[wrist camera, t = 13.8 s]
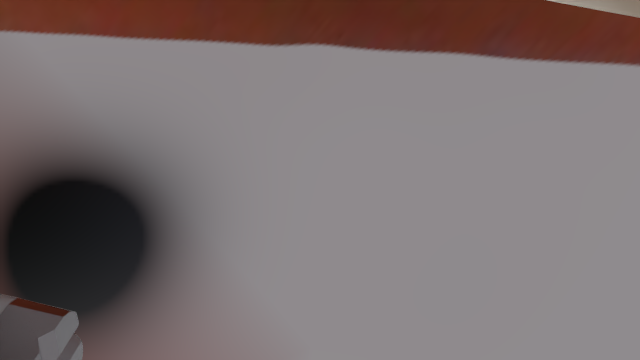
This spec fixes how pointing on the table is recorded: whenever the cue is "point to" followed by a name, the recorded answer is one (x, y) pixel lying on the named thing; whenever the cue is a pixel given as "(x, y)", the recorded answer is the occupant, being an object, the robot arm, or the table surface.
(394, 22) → the table surface
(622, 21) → the table surface
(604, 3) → the birch lid
